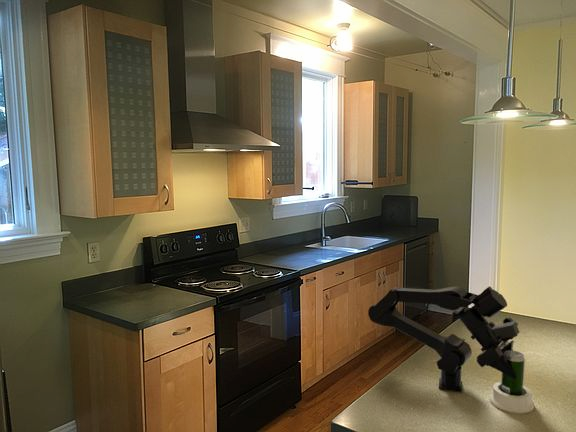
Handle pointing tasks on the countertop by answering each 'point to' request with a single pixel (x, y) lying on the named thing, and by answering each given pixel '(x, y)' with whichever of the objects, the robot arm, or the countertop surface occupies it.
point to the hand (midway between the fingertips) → (518, 374)
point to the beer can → (517, 365)
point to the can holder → (512, 400)
